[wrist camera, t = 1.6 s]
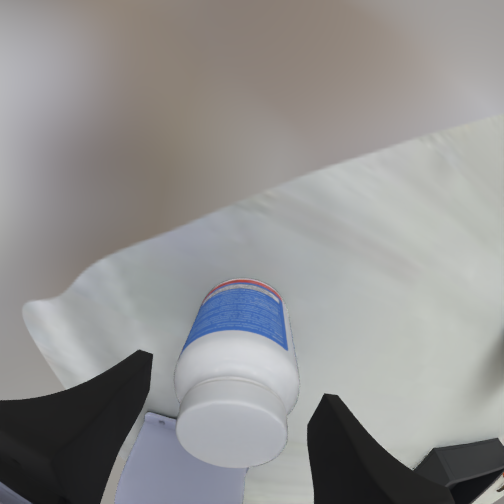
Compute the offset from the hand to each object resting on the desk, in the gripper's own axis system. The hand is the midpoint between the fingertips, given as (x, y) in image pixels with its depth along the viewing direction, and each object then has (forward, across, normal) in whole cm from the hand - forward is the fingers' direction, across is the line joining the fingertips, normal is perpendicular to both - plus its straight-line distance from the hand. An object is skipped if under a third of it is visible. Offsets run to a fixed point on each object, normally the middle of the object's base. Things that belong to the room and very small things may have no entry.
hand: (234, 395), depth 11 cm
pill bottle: (+8, 0, 0) cm, 8 cm away
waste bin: (+7, -29, +18) cm, 35 cm away
